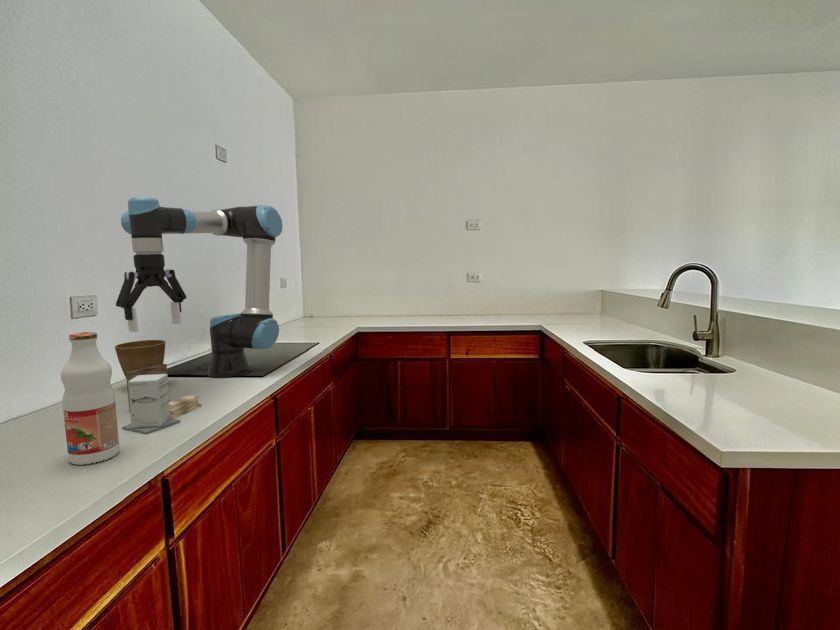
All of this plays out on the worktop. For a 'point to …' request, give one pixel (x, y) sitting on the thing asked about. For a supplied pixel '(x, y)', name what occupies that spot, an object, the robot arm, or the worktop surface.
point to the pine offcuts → (183, 405)
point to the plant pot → (140, 354)
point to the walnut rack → (146, 371)
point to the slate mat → (151, 429)
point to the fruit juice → (89, 403)
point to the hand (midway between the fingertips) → (156, 327)
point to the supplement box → (149, 400)
